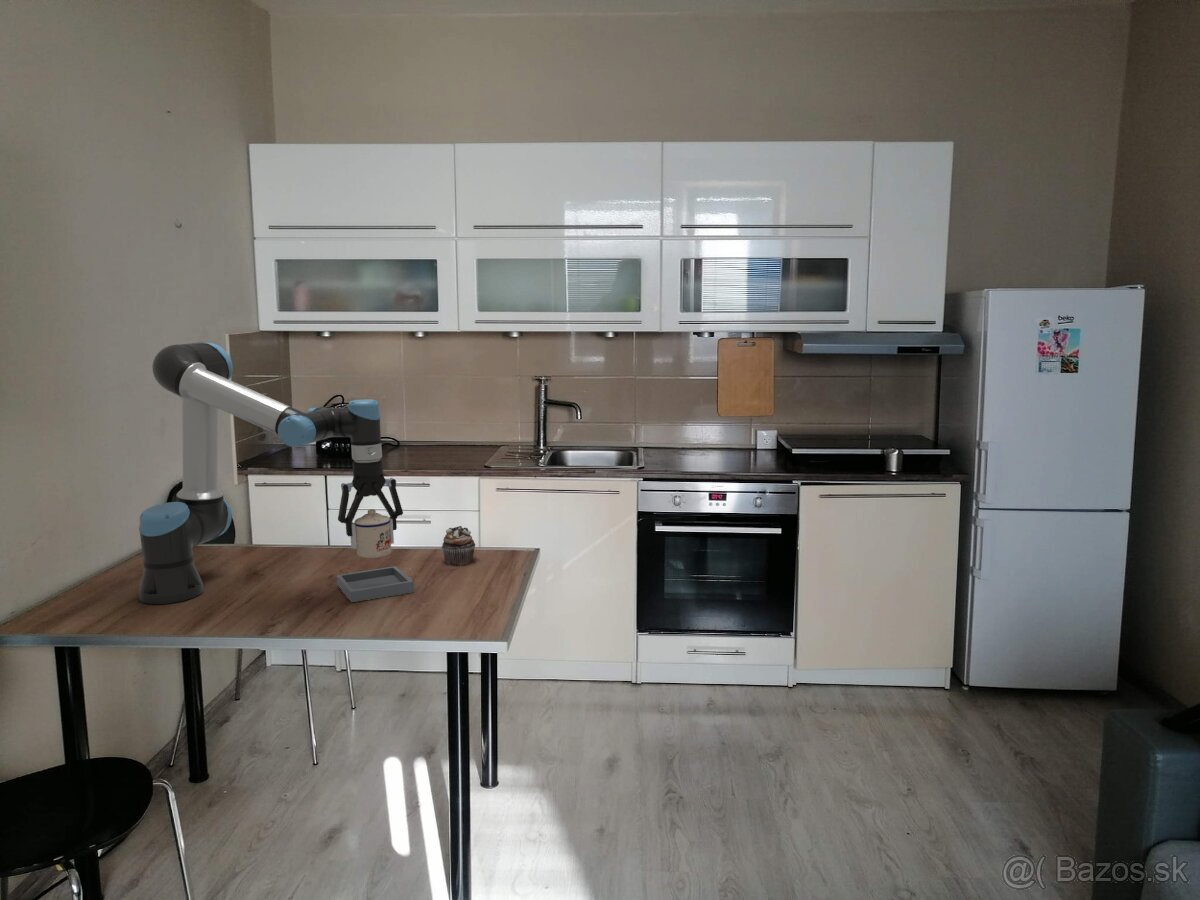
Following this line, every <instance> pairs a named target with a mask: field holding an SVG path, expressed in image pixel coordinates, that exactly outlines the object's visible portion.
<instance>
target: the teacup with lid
mask: <svg viewBox="0 0 1200 900" xmlns="http://www.w3.org/2000/svg"><path fill="white" fill-rule="evenodd" d="M389 517H390V516H386V515H382V514H381V513H378V512H377V511H376V509H368V510H367V513H365V514H364V515H362V516H360V517H358V518H355V520H354V522H353V523H354V524H355V530H356V546H357V549H356V554H357V556H359V557H361V558H364V559H374V558H381V557H386V556H388V555H389V554H391V552H392V544H391V538H390V519H389Z"/></svg>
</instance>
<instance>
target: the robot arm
mask: <svg viewBox="0 0 1200 900" xmlns="http://www.w3.org/2000/svg"><path fill="white" fill-rule="evenodd" d="M233 368H234V367H233V361H232V359H231V357H230V355H229V354H228V352H227V351H226V350H225V349H224V348H223V347H221V346H220V345H218V344H216V343H212V342H193V343H191V342H190V343H182V344H170V345H168V346H165V347H163V348H162V349H161V350H159V352H158V353H157V354H156V355H155V357H154V359H153V361H152V373H153V377H154V379H155V381H156V382H157V383H158V384H159V386H161V387H162V388H163V389H165V390H166V391H168V392H170V393H172V394H174V395H175V396H178V397H179V398H180V399H181V402H182V405H181V406H182V408H181V409H182V412H181V413H182V417H181V418H182V421H181V422H182V488H181V489H180V490H179V491H178V492H177V493H176V501H171V502H163V503H161V504H155V505H152V506H150V507H148V508H145V509H144V510H143V511H142V512H141V513H140V516H139V527H138V530H139V535H140V543H141V544H140V545H141V553H142V561H143V573H142V577H141V581H140V585H139V589H138V599H139V601H140V602H141V603H144V604H149V605H164V604H165V605H166V604H175V603H180V602H184V601H187V600H191V599H193V598H196V597H198V596H200V595H202V594H203V592H204V583H203V580H202V578H201V576H200V574H199V571H198V569H197V568H196V565H195V563H194V552H193V548H194V547H197V546H200V545H202V544H204V543H206V542H211V541H213V540H215V539H217V538H219V537H220V536H221V535H224V533H226V532H227V531H228V529H229V527H230V525H231V523H232V517H233V514H232V513H233V512H232V509H231V506H230V504H228V501H227V500H226V499H225V498H224V492H223V491H222V490H221V489H220V488H219V487H218V441H219V440H218V436H219V435H218V432H219V430H218V429H219V427H218V424H219V423H218V421H219V419H218V416H219V415H218V414H219V413H218V412H219V410H221V411H223V412H226V413H228V414H230V415H232V416H234V417H237V418H239V419H241V420H243V421H246V422H248V423H250V424H252V425H255V426H257V427H260V428H261V429H264V430H266V431H269V432H270V433H272V434H275V435H276V436H277V435H278V437H279V440H280V441H281V442H282V443H283V444H284V445H286V446H287V447H291V448H294V447H295V448H297V447H304V446H307V445H309V444H313V443H315V442H319V441H322V440H326V439H329V438H350V443H351V444H350V446H351V447H350V448H351V459H352V460H353V462H352V476H353V478H352V481H351V482H348V483H343V482H342V483H341V485H340V488H341V497H340V498H341V499H340V504H339V510H338V516H337V520H338V522H340V523H341V524H345V533H346V536H347V537H350V547H351V548H352V549H353V550H357V544H356V529H355V524H354V522H353V520H354V518H355V516H356V515H357V512H358V510H359V507H360V505H361V503H362V501H363V499H364V498H366V497H370V496H372V497H376V496H377V497H378V499H379V501H380V502H381V504H382V506H383V507H384V509H385V511H386V512H387V513H388V517H389V519H390V538H391V545H392V544H393V545H394V544H395V539H394V531H396V530H397V529H398V526H397V525H398V524H397V519H398V517H400V516H402V515H404V511H403V508H402V504H401V501H400V497H399V494H398V490H397V480H396V479H394V478H393V477H389V478H385V477H384V466H383V464H384V463H383V460H382V457H383V449H382V436H381V435H382V433H381V413H380V407H379V405H380V404H379V402H378V401H377V400H375V399H370V398H365V399H354V400H350V401H349V402H348V407H324V406H320V407H310V408H308V409H307V410H306V412H304V411H301V410H299V409H296V408H293V407H292V406H290V405H289V404H286V403H283V402H281V401H278V400H276V399H274V398H272V397H269V396H267V395H265V394H262V393H260V392H257V391H256V390H253V389H252V388H249V387H247V386H244V385H242V384H240V383H238V382H236V381H232V380H231V377H232V376H233V372H234V371H233V370H234V369H233ZM218 409H219V410H218ZM385 484H386V486H387V487H388V490H389V493H390V496H391V501H392V504H393V505H394V509H393V507H392V506H391V504H390V502H389V501H388V499H387V497H386V496H385V493H384V492H383V490H382V489H383V487H384V486H385ZM352 488H353V489H354V490H356V492H355V495H354V499H353V501H352V503H351V506H350V507H349V510H348V504H349V498H350V492H351V491H352ZM347 510H348V512H347Z"/></svg>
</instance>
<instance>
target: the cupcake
mask: <svg viewBox="0 0 1200 900" xmlns="http://www.w3.org/2000/svg"><path fill="white" fill-rule="evenodd" d="M445 533H446V534H445V536H444V537H443V543H442V544H441V545H442V546H441V549H442V553H443V557H444V561H445V563H446V565H449V564H450V566H465V565H464V564H466V565H469V564H471V563H472V561H473V562H474V556H475V555H474V553H475V548H476V543H475V541H474V539H473V537H472V535H471V533H472V531H471V530H469V529H468V527H462V525H460V526H456V527H449V528H448V529H445Z"/></svg>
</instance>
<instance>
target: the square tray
mask: <svg viewBox="0 0 1200 900" xmlns="http://www.w3.org/2000/svg"><path fill="white" fill-rule="evenodd" d="M337 586H338V587H339V588H340V589H341V590H342V591H341V590H340V589H339V588H338V587H337ZM336 587H337V588H338V589H339V590H340V591H341V593H342V592H343V593H344V594H345V595H346V596H345V595H344V594H343V593H342V594H343V595H344V596H345V597H346V599H347V600H348V599H349V600H350V601H351V602H356V603H358V602H357V601H361V600H368V599H373V600H376V599H375V598H379V599H384V598H383V597H385V598H390V597H389V596H391V597H396V595H397V596H401V595H402V594H403V595H407V594H406V593H409V594H414V593H415V591H414V590H415V588H414V581H413V580H412V579H411V578H410V577H409V576H408V575H406V574H405V572H403V571H402V570H401V569H399V567H397V566H396V565H394V566H387V567H382V568H375V569H369V570H368V569H367V570H362V571H355V572H350V573H341V574H337V575H336ZM413 592H414V593H413ZM403 595H402V596H403ZM349 600H348V601H349ZM350 601H349V602H350ZM368 601H369V600H368ZM351 602H350V603H351Z"/></svg>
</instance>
